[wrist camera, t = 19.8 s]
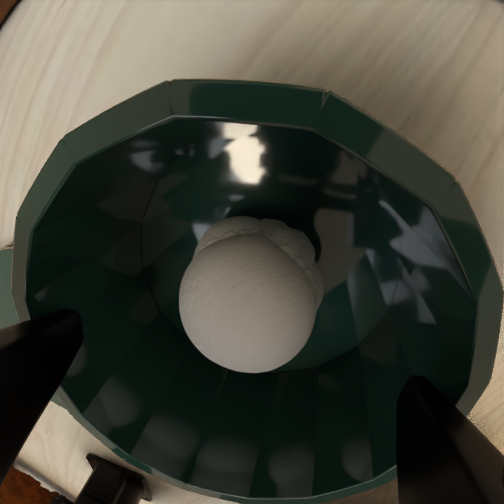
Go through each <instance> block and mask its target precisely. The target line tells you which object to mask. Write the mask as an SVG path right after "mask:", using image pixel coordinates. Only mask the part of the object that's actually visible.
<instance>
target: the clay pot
mask: <svg viewBox="0 0 504 504" xmlns="http://www.w3.org/2000/svg"><path fill="white" fill-rule="evenodd" d="M40 484H41V483H40V482H39V481H36V480H35V479H34V478H32V477H31V476H30V475H27V474H25V473H23V472H20V471H18V470H16V469H14V467H13V465H12V466H11V468H10V470H9V472H8V474H7V476H6V477H5V479H4V481H3V483H2V486H1V487H0V504H49V503H50V501H51V499H52V498H53V496H54V495H55V493H56V494H58V495H60V494H59V493H58V492H55V491H53V492H50V491H49V490H47V489H46V488H43V487H41V486H40ZM73 503H74V502H73Z"/></svg>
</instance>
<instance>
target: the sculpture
mask: <svg viewBox="0 0 504 504" xmlns="http://www.w3.org/2000/svg"><path fill="white" fill-rule="evenodd" d="M16 1H17V0H0V24H1V23H2V21H3V20H4V18H5V17H6V15H7V14H8V12H9V11H10V9H11V8H12V7H13V5H14V4H15V3H16Z"/></svg>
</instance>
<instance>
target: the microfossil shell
mask: <svg viewBox="0 0 504 504" xmlns="http://www.w3.org/2000/svg"><path fill="white" fill-rule="evenodd" d="M314 259H315V249H314V246H313V245H312V243H311V241H310V239H309V238H308V237H307V236H306V235H305V234H304V233H303V232H302V231H300V230H296V229H292V228H289V227H288V226H287V225H286V224H285V223H284V222H282V221H280V220H275V219H267V218H264V219H261V221H260V220H259V219H256V218H254V217H248V216H235V217H230V218H227V219H224V220H222V221H220V222H218V223H216V224H214V225H212V226H211V227H210V228H209V229H208V230H207V231H206V232H205V233H204V235H203V236H202V238H201V239H200V241H199V243H198V245H197V247H196V250H195V253H194V256H193V260H192V261H191V263H190V264H189V266H188V268H187V269H186V271H185V274H184V276H183V278H182V282H181V285H180V290H179V311H180V316H181V320H182V324H183V326H184V329H185V331H186V333H187V335H188V336H189V339H190V340H191V341H192V343H193V344H194V345H195V346H196V348H197V349H198V350H199V351H200V352H201V353H202V354H203V355H204V356H205V357H207V358H208V359H210V360H211V361H213V362H215V363H217V364H219V365H220V366H223V367H224V368H225V367H226V368H228V369H231V370H234V371H238V372H247V373H261V372H267V371H270V370H273V369H275V368H278V367H280V366H282V365H284V364H285V363H287V362H289V361H290V360H291V359H292V358H294V357H295V356H296V355H297V354H298V353H299V351H300V350H301V349H302V348H303V347H304V345H305V344H306V342H307V340H308V338H309V336H310V334H311V332H312V330H313V326H314V324H315V323H314V322H315V319H316V312H317V310H318V308H319V306H320V304H321V302H322V299H323V293H324V279H323V276H322V273H321V270H320V269H319V267H318V265H317V264H316V262H315V260H314Z"/></svg>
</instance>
